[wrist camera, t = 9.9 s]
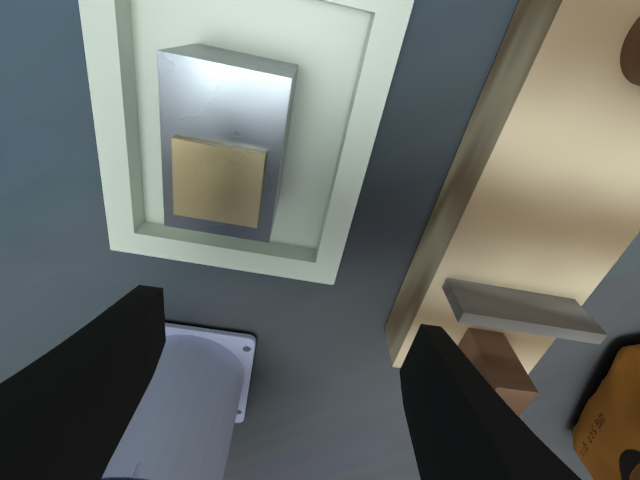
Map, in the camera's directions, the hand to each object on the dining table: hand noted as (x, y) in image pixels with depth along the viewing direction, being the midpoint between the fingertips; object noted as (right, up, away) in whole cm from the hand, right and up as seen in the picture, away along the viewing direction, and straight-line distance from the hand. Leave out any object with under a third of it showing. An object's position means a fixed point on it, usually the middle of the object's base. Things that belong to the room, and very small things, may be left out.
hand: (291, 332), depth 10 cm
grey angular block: (-3, +7, +5) cm, 10 cm away
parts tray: (-3, +8, +6) cm, 10 cm away
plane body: (+11, +5, +8) cm, 14 cm away
